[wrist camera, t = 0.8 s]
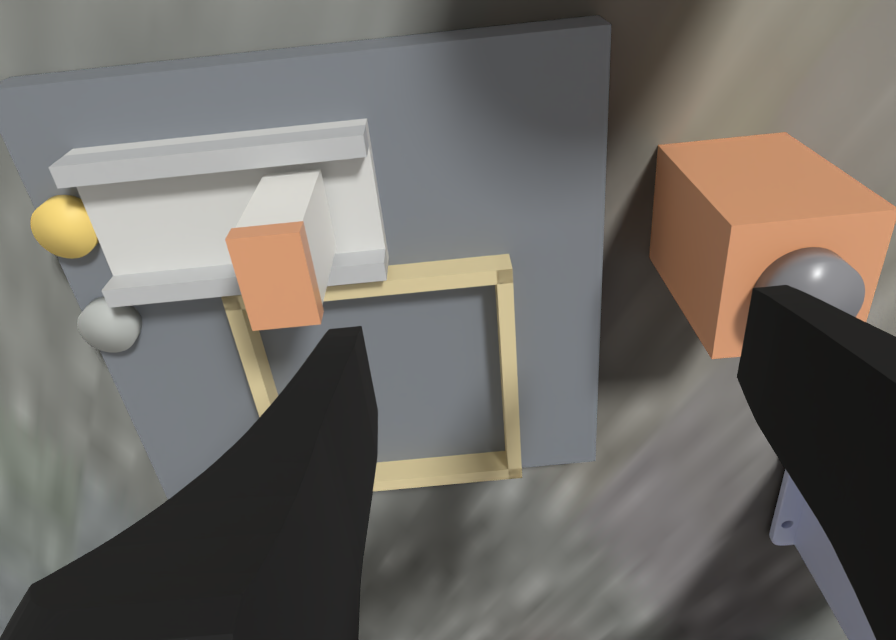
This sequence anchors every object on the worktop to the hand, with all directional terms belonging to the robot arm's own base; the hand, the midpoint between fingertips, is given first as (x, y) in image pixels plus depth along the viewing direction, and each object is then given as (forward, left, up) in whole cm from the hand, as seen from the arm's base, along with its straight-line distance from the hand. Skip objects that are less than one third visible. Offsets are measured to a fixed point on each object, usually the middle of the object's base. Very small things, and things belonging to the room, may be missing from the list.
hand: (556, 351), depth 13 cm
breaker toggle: (0, +6, -8) cm, 10 cm away
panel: (-4, +6, -10) cm, 12 cm away
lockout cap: (-2, -7, -10) cm, 13 cm away
